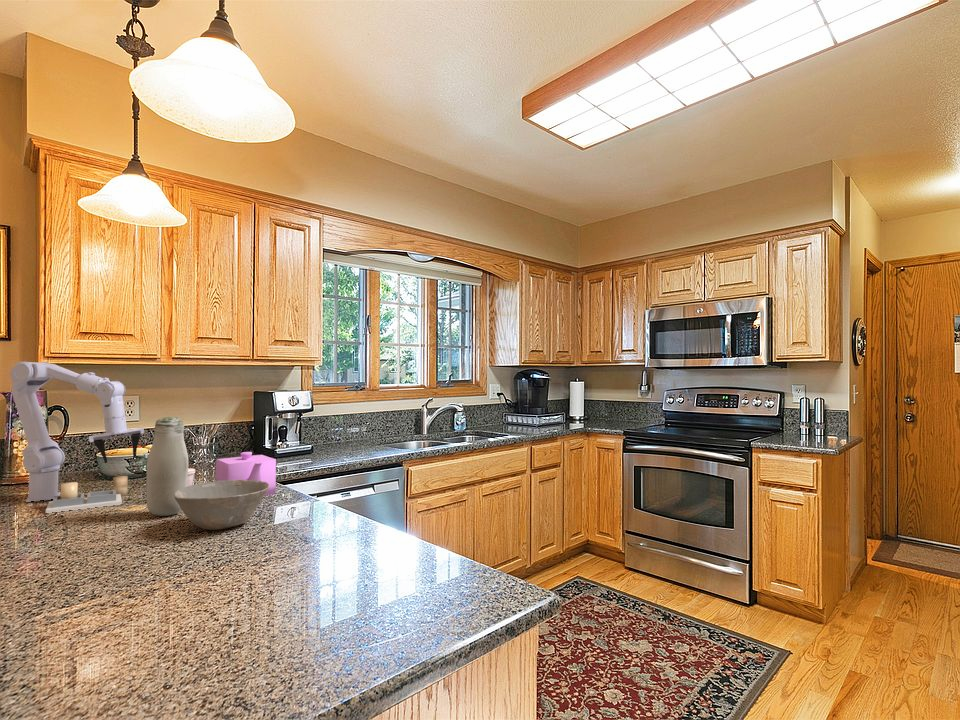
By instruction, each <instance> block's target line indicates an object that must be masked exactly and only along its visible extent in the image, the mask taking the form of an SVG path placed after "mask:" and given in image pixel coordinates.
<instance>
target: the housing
mask: <svg viewBox="0 0 960 720" xmlns="http://www.w3.org/2000/svg"><path fill="white" fill-rule="evenodd" d="M78 486H79V483H78V482H77V481H71V482H70V481H68V482H64V483H61V484H60V496H54V499H53V500H52V501H51V500H50V501H48V504H47V506H46V509H45V514H46V513H49V514H53V513H52V512H57V513H62V512H61V511H65V512H70V511H69V510H73V511H79V510H78V509H82V510H88V509H87V508H90V509H96V508H95V507H98V508H104V507H103V506H107V507H113V505H115V506H121V505H120V504H122V505H123V501H122V500H123V499H122V496H121V494H116V490H113V489H111V490H110V489H109V490H101V491H100V490H99V491H90V492H87V494H86V495H87V497H85V493H84V492H81V493H78V488H79V487H78Z"/></svg>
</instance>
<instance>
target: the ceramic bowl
mask: <svg viewBox="0 0 960 720" xmlns="http://www.w3.org/2000/svg"><path fill="white" fill-rule="evenodd" d="M269 486H270V485H269V484H268V483H267V482H262V481H256V480H249V481H248V480H224V481H216V480H215V481H206V482H201V483H195V484H193V485H190V486H187V487H184V488H181V489H179V490H177V491H176V492H175V493H174V498H175V500H176V501H177V503H178V504H179V506H180V508H181V511H182V513H183V515H184V516H185V517H186V518H187V519H188V520H189V521H190V522H191V523H193V524H194V525H195V526H196V527H198V528H201V529H203V530H206V531H207V530H208V531H219V530H224V529H226V530H227V529H229V528H233V527H237V526H241V525H243V524H244V523H245V522H247V521H249V519H251V517H252V516H253V514H254V512H255V511H256V509H257V508H258V506H259V505H260V502H262V500H263V499H264V497H265V496H266V495H265V493H266V492H267V491H268V489H269Z"/></svg>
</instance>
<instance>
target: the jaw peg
mask: <svg viewBox="0 0 960 720" xmlns="http://www.w3.org/2000/svg"><path fill="white" fill-rule="evenodd" d="M128 482H129V476H127V475H120V476H119V475H117V476H114V477H113V478H112V490H116V494H121V497H124V496H123V495H126V496H127V495H128V489H129V488H128V487H129V486H128V485H129V484H128Z"/></svg>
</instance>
